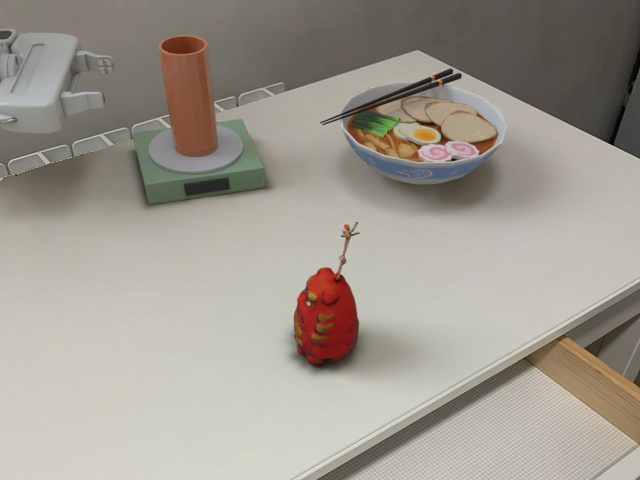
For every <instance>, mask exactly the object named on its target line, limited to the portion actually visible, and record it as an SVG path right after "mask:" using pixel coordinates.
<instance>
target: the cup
mask: <svg viewBox="0 0 640 480" xmlns="http://www.w3.org/2000/svg"><path fill="white" fill-rule="evenodd" d="M157 47H158V48H157V49H158V54H159V61H160V62H159V63H160V67H161V75H162V79H163V87H164V93H165V98H166V99H165V100H166V105H167V111H168V116H169V117H168V118H169V123H170V128H171V130H172V136H173V142H174V146H175V150H176V151H177V152H178V153H180V154H182V155H184V156H189V157H200V156H205V155H208V154H211V153H213V152H214V151H215V150H216V149H217V148H218V135H217V125H216V122H217V117H216V107H215V99H214V88H213V80H212V70H211V69H212V68H211V61H210V53H209V43H208V42H207V40H206V39H205V38H203V37H200V36H198V35H191V34H180V35H179V34H178V35H173V36H169V37H165V38H164V39H162V40H161V41H160V42H159V43H158V46H157Z"/></svg>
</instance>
